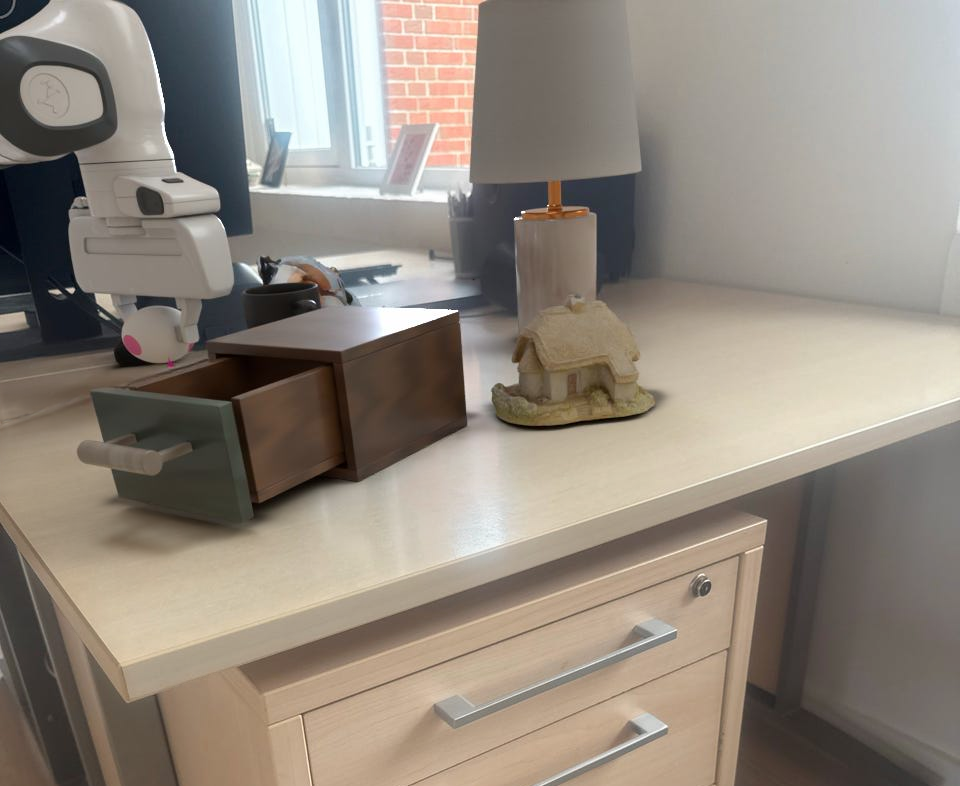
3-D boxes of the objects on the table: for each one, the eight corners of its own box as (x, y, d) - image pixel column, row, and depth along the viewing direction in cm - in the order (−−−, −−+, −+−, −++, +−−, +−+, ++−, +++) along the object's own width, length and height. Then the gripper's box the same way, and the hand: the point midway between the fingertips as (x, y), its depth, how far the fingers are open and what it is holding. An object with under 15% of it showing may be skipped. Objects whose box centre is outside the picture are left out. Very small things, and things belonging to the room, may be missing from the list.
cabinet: (358, 481, 70) (340, 351, 65) (229, 461, 76) (204, 341, 71) (467, 425, 81) (459, 310, 76) (347, 411, 88) (332, 305, 83)
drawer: (194, 547, 58) (165, 425, 54) (68, 518, 64) (34, 406, 60) (373, 457, 72) (360, 355, 68) (256, 441, 78) (238, 346, 74)
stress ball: (197, 384, 101) (178, 329, 102) (211, 351, 95) (191, 292, 95) (128, 393, 98) (109, 335, 98) (137, 359, 91) (117, 297, 91)
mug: (284, 398, 94) (268, 301, 89) (246, 378, 103) (230, 289, 98) (357, 384, 97) (345, 290, 92) (313, 366, 106) (301, 279, 102)
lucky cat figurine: (399, 338, 116) (378, 242, 105) (335, 394, 112) (305, 301, 100) (318, 297, 122) (289, 202, 111) (254, 349, 118) (217, 256, 106)
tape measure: (117, 375, 109) (108, 343, 107) (128, 362, 115) (121, 332, 113) (175, 369, 109) (167, 337, 107) (183, 357, 115) (177, 327, 113)
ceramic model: (604, 386, 90) (604, 278, 85) (674, 410, 81) (680, 291, 76) (478, 411, 85) (470, 299, 80) (538, 440, 76) (534, 315, 71)
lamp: (639, 324, 115) (647, 0, 99) (635, 358, 99) (643, -23, 82) (493, 329, 119) (476, 16, 102) (466, 363, 103) (441, -2, 86)
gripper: (40, 199, 92) (75, 340, 99) (181, 195, 82) (210, 352, 89) (91, 194, 97) (122, 329, 103) (231, 191, 87) (255, 340, 94)
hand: (164, 340), depth 96 cm, fingers closed on stress ball, 6 cm apart
